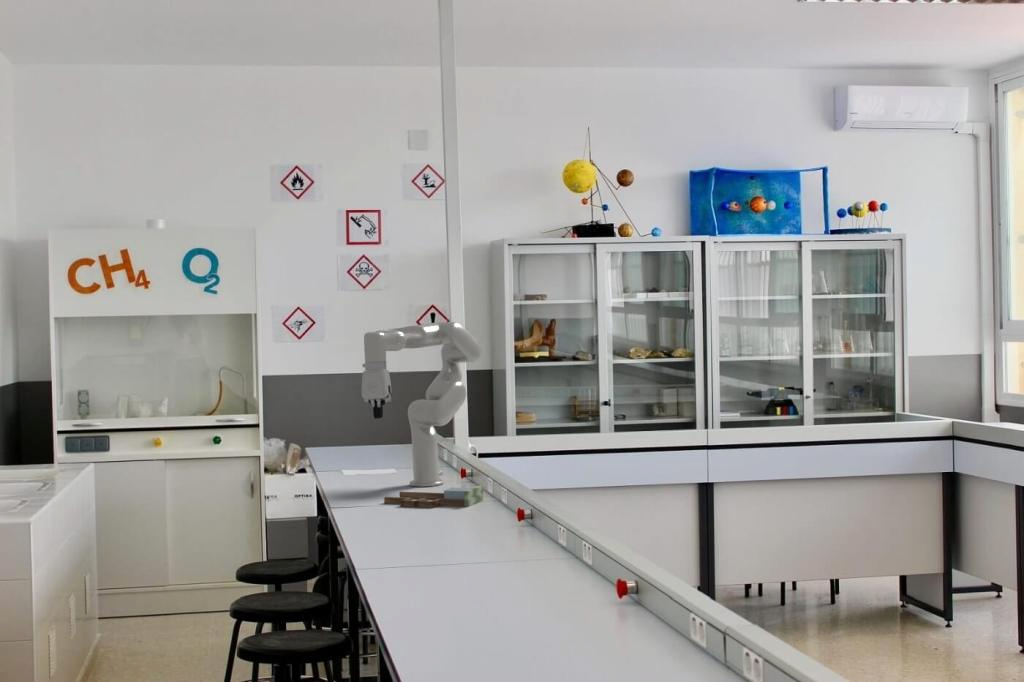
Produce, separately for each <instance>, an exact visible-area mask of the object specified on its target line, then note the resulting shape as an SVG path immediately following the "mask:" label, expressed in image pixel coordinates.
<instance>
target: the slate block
mask: <svg viewBox="0 0 1024 682" xmlns="http://www.w3.org/2000/svg"><path fill="white" fill-rule="evenodd" d="M471 488H472V487H449V488H447V489H444V490H443V493H444V499H457V500H464V491H466V490H469V489H471Z"/></svg>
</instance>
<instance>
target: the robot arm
mask: <svg viewBox="0 0 1024 682" xmlns="http://www.w3.org/2000/svg"><path fill="white" fill-rule="evenodd" d="M363 345H364V346H363V347H364V349H363V350H364V363H362V368H364V370H363V372H362V379H361V397H362V399H363V401H364V402H365V403H369V404H370V405H371V408H373V409H372V411H373V418H374V419H378V420H379V419H382V418H383V415H384V408H383V407H384V406H385V404H386V403H388V402H389V403H390V402H392V394H393V393H392V383H391V377H390V371H389V369H387V352H398V351H401V350H403V349H409V350H411V349H422V348H428V347H435V346H440V345H441V346H442V347H441V351H440V354H441V361H442V363H441V364H442V367H441V370H440V371H439V373H438V374H437V376H436V377H435V378H434V379H433V381H432V382H431V384H429V386H428V388H427V389H426V391H425V399H416V400H414V401H412V402H411V403H410V404H409V406H408V408H407V418H408V422H409V426H410V427H409V428H410V431H411V432H410V433H411V451H412V470H413V471H412V472H413V474H412V475H413V480H411V481H409V486H410V487H418V488H419V487H420V488H421V487H426V488H427V487H435V486H440V485H443V484H444V482H445V481H444V479H442V478H440V476H443V475H444V471H443V470H440V468H439V467H440V466H439V449H438V447H439V443H438V441H439V440H438V435H437V434H438V433H437V431H436V428H435V427H443V426H445V425H447V424H448V423H450V421H451V420H452V419H453V418H454V416H455V415H456V414H457V413H458V411H459V410H460V408H461V407H462V406H463V404H464V403H465V400H466V397H467V389H466V388H467V387H466V386H465V384H464V383H463V382H462V376H463V374H462V369H461V365H460V363H474V362H477V361H478V360H479V359H480V357H481V355H482V353H481V352H482V349H481V346H480V343H479V342H478V341H477V340H476V338H475V337H474V336H472V334H471V333H470V332H469V331H468V330H467V329H466V328H465V327H464V326H463V325H461V324H460V323H459V322H455V321H448V322H447V321H446V322H445V321H444V322H443V321H442V322H432V323H424V324H417V325H410V326H404V327H398V328H395V327H394V328H389V329H381V330H380V329H379V330H375V331H369V332H366V333H364V336H363Z"/></svg>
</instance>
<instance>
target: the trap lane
mask: <svg viewBox="0 0 1024 682" xmlns="http://www.w3.org/2000/svg"><path fill="white" fill-rule="evenodd" d="M470 488H471V489H469V490H466V491H464V500H457V499H444V492H424V491H421V492H420V491H399V492H398V494H399V497H398V496H384V497H383V502H384V504H390V505H391V504H392V505H393V504H394V505H400V507H404V508H422V509H423V508H426V509H427V508H428V509H435V508H437V507H440V506H441V507H462V508H463V507H467V508H469V507H471V506H474V505H476V504H478V503H481V502H483V501H484V500H485V499H484V498H485V497H484V485H477V486H475V487H470Z"/></svg>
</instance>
